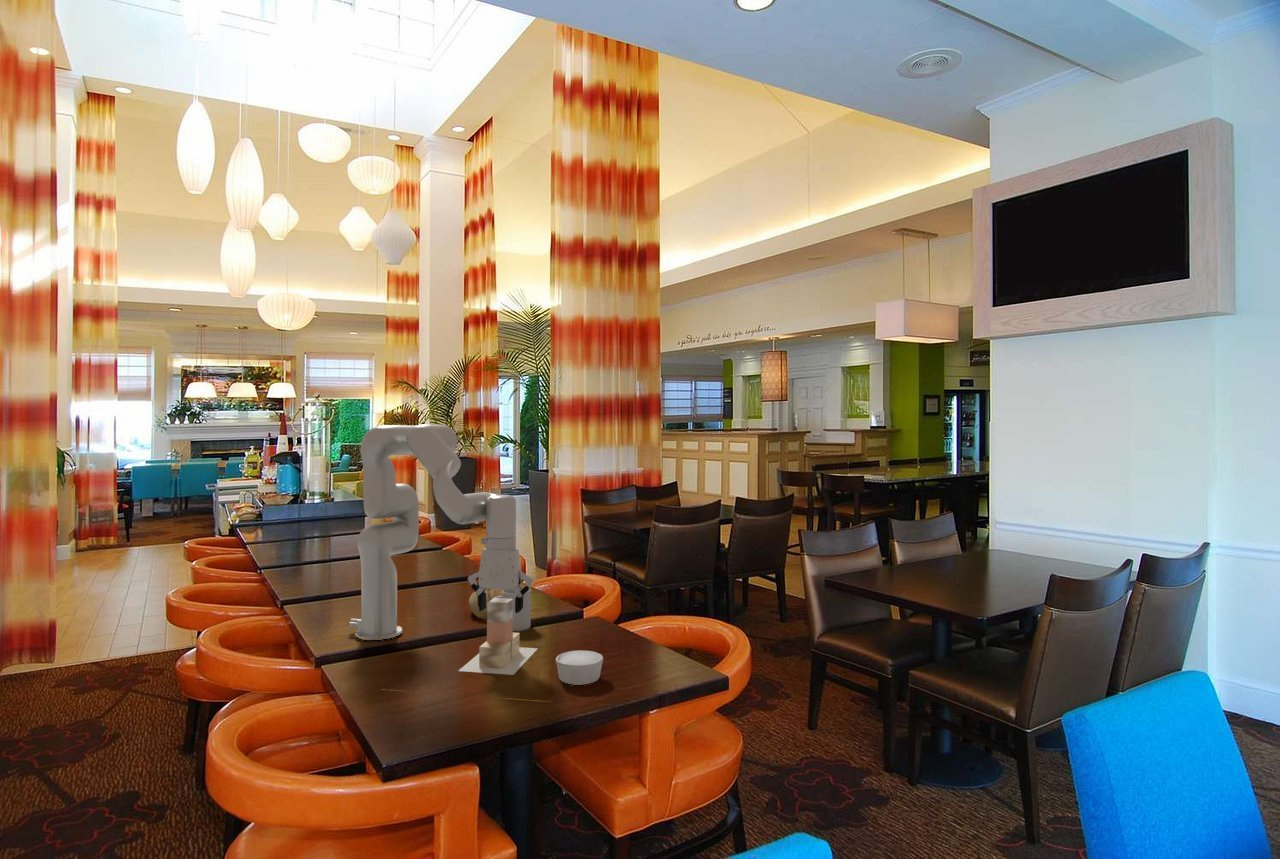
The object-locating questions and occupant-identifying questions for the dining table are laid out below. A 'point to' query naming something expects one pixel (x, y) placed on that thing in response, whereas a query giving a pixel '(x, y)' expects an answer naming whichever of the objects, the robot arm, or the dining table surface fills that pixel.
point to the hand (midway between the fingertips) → (500, 610)
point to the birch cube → (499, 610)
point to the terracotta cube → (499, 632)
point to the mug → (524, 616)
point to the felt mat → (508, 669)
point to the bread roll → (474, 603)
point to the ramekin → (579, 667)
